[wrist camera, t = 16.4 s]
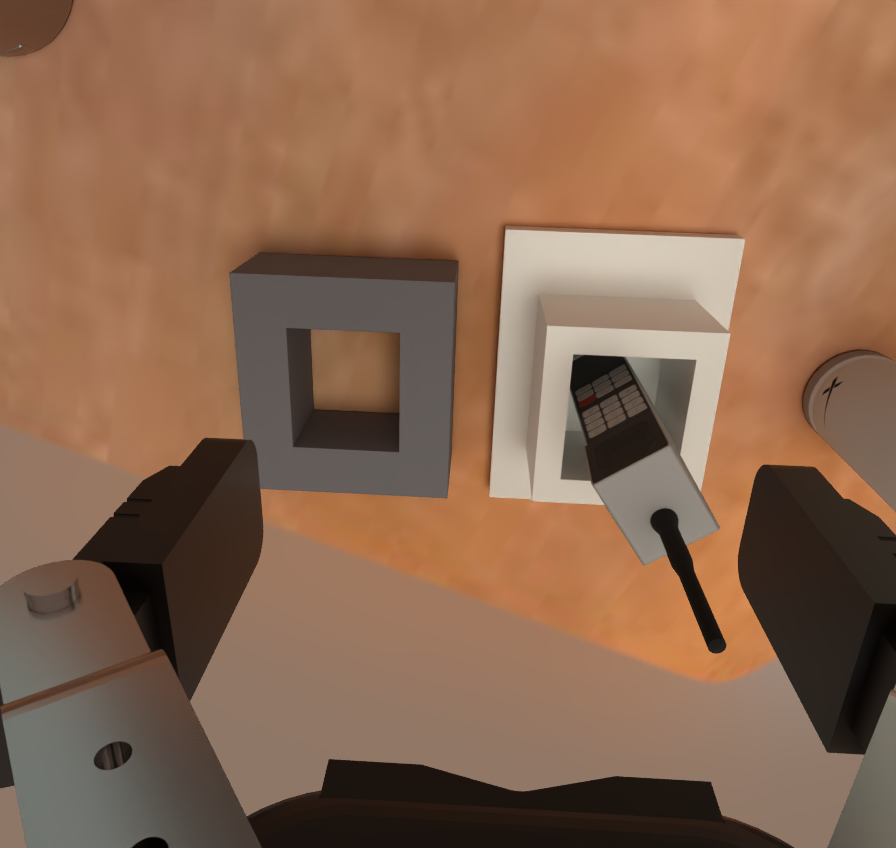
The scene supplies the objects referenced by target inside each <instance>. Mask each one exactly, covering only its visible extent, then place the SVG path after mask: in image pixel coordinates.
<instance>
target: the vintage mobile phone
mask: <svg viewBox="0 0 896 848" xmlns="http://www.w3.org/2000/svg"><path fill="white" fill-rule="evenodd" d="M570 391H571V395H572V398H573V402H574V405H575V409H576V412H577V415H578V419H579V422H580V426H581V429H582V433H583V436H584V440H585V443H586V445H585V446H584V451H585V456H586V461H587V465H588V470H589V475H590V480H591V484H592V486H593V488H594V489H595V491H596V492H597V494H598V495H599V497H600V498H601V500H602V502H603V503H604V505H605V506H606V508H607V509H608V511H609V512H610V514H611V516H612V517H613V519H614V520H615V522H616V523H617V525H618V526H619V528H620V530H621V531H622V533H623V534H624V536H625V537H626V539H627V541H628V542H629V544H630V545H631V547H632V548H633V550H634V551H635V553H636V555H637V556H638V558H639V559H640V561H641V562H642V564H643V565H647V564H649V563H651V562H653V561H655V560H657V559H659V558H661V557H664V556H666V555H667V556H668V558H669V561H670V563H671V566H672V568H673V569H674V570H675V572H676V573H677V574H678V576H679V577H680V580H681V582H682V585H683V587H684V590H685V592H686V595H687V597H688V600H689V602H690V605H691V607H692V610H693V612H694V615H695V617H696V620H697V622H698V625H699V627H700V630H701V632H702V635H703V637H704V640H705V642H706V644H707V647H708V649H709V651H710V652H712V653H721V652H723V651H724V650H725V648H726V643H725V640H724V638H723V636H722V633H721V631H720V629H719V627H718V624H717V622H716V620H715V618H714V615H713V613H712V611H711V608H710V606H709V604H708V602H707V599H706V597H705V595H704V593H703V590H702V588H701V586H700V583H699V581H698V579H697V577H696V574H695V572H694V567H693V561H692V558H691V555H690V553H689V551H688V549H687V546H686V545H689V544H691V543H693V542H695V541H697V540H699V539H701V538H703V537H705V536H707V535H709V534H711V533H714V532H716V531H718V530H719V529H720V527H719V525H718V523H717V521H716V519H715V517H714V516H713V514H712V512H711V510H710V508H709V506H708V505H707V503H706V501H705V499H704V497H703V495H702V494H701V492H700V490H699V488H698V486H697V484H696V482H695V481H694V479H693V477H692V475H691V473H690V471H689V470H688V468H687V466H686V464H685V462H684V460H683V459H682V457H681V455H680V453H679V451H678V449H677V448H676V446H675V444H674V442H673V440H672V438H671V437H670V435H669V433H668V431H667V429H666V427H665V426H664V424H663V422H662V420H661V418H660V416H659V415H658V413H657V411H656V409H655V407H654V405H653V403H652V402H651V400H650V398H649V396H648V394H647V393H646V391H645V389H644V388H643V386H642V384H641V382H640V381H639V379H638V377H637V375H636V374H635V372H634V370H633V369H632V367H631V365H630V363H629V362H628V360H627V358H626V357H623V356H601V355H578V354H573V361H572V371H571V381H570Z"/></svg>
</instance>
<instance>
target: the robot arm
mask: <svg viewBox="0 0 896 848" xmlns="http://www.w3.org/2000/svg"><path fill="white" fill-rule="evenodd" d="M71 5H72V0H0V56H19V55H26V54H28V53H31V52H34V51H37V50H39V49H41V48H42V47H44V46H45V45H46V44H48V43H49V42H51V41H52V40H53V39H54V37H55V36H56V35H57V34H58V33H59V31H60V30H61V29H62V28H63V26H64V23H65V21H66V19H67V17H68V15H69V13H70V9H71ZM262 541H263V517H262V505H261V493H260V481H259V469H258V457H257V450H256V446H255V444H254V442H253V441H252V440H243V439H222V438H204V439H203V440H202V441H201V442H200V443H199V444H198V446H197V447H196V448H195V449H194V450H193V452H192V453H191V454H190V455H189V456H188V458H187V459H186V460H185V461H184V463H183V464H182V465H181V466H168V467H166V468H165V469H163V470H161V471H159V472H157V473H156V474H154V475H152V476H150V477H148V478H147V479H145V480H143V481H142V482H141V483H140V484H139V486H138V487H137V488H136V489H135V490H134V491H133V492H132V493H131V494H130V496H129V497H128V498H127V502H124V503H123V504H122V505H121V506H120V507H119V508H118V509H117V510H116V512H114V517H110V518H109V519H108V520H107V521H106V523H105V524H104V525H103V526H102V527H101V528H100V529H99V530H98V532H97V533H96V534H95V535H94V536H93V537H92V538H91V540H90V541H89V542H88V543H87V544H86V545H85V546H84V547H83V548H82V549H81V551H80V552H79V553H78V554H77V555H76V556H75V557H74V559H73V560H65V561H58V562H52V563H48V564H44V565H41V566H38V567H34V568H32V569H29V570H27V571H24V572H22V573H20V574H18V575H16V576H14V577H13V578H11V579H10V580H8V581H6V582H5V583H4V584H2V585H1V586H0V788H4V787H9V786H14V785H15V789H16V794H17V799H18V805H19V810H20V816H21V821H22V826H23V831H24V837H25V842H26V847H27V848H794V847H792V846H791V845H789V844H787V843H786V842H784V841H782V840H781V839H778V838H776V837H774V836H772V835H770V834H768V833H766V832H764V831H762V830H760V829H758V828H756V827H753V826H751V825H748V824H745V823H743V822H740V821H738V820H735V819H732V818H729V817H725V816H722V815H721V812H720V809H719V806H718V803H717V799H716V796H715V794H714V790H713V787H712V784H711V782H703V781H687V780H669V779H653V778H636V777H635V778H634V777H619V776H615V777H609V778H603V779H597V780H591V781H585V782H579V783H573V784H568V785H562V786H556V787H550V788H544V789H538V790H532V791H524V792H522V791H512V790H508V789H505V788H501V787H498V786H494V785H491V784H487V783H484V782H480V781H477V780H473V779H470V778H466V777H463V776H459V775H455V774H452V773H448V772H445V771H442V770H438V769H435V768H431V767H428V766H424V765H416V764H400V763H399V764H398V763H383V762H366V761H350V760H333V759H329V761H328V765H327V769H326V774H325V778H324V782H323V786H322V790H321V791H316V792H311V793H306V794H303V795H299V796H296V797H292V798H288V799H285V800H282V801H280V802H277V803H275V804H272V805H270V806H267V807H265V808H262V809H260V810H258V811H256V812H254V813H252V814H251V815H249V816H247V817H246V815H245V813H244V811H243V808H242V807H241V804H240V803H239V800H238V798H237V797H236V794H235V793H234V790H233V788H232V786H231V784H230V782H229V780H228V778H227V776H226V774H225V772H224V770H223V768H222V766H221V764H220V762H219V760H218V758H217V756H216V754H215V752H214V750H213V748H212V746H211V744H210V742H209V740H208V738H207V736H206V734H205V732H204V729H203V727H202V725H201V724H200V721H199V719H198V717H197V715H196V713H195V711H194V709H193V707H192V705H191V703H190V700H191V698H192V696H193V694H194V692H195V690H196V688H197V686H198V684H199V682H200V680H201V677H202V676H203V674H204V672H205V670H206V668H207V665H208V663H209V661H210V659H211V657H212V655H213V653H214V651H215V649H216V647H217V645H218V643H219V641H220V639H221V637H222V635H223V633H224V631H225V629H226V627H227V624H228V622H229V620H230V618H231V616H232V614H233V612H234V610H235V608H236V606H237V604H238V602H239V600H240V598H241V596H242V594H243V592H244V590H245V588H246V586H247V583H248V582H249V579H250V577H251V575H252V573H253V571H254V569H255V567H256V565H257V563H258V560H259V557H260V553H261V548H262ZM738 572H739V579H740V583H741V586H742V589H743V591H744V593H745V595H746V597H747V599H748V601H749V603H750V605H751V606H752V608H753V610H754V612H755V614H756V616H757V618H758V620H759V622H760V624H761V626H762V628H763V630H764V632H765V633H766V635H767V637H768V639H769V641H770V643H771V645H772V647H773V649H774V651H775V653H776V655H777V657H778V658H779V660H780V662H781V664H782V666H783V668H784V670H785V672H786V674H787V676H788V678H789V680H790V682H791V683H792V685H793V687H794V689H795V691H796V693H797V695H798V697H799V699H800V701H801V703H802V704H803V707H804V708H805V710H806V712H807V714H808V716H809V718H810V720H811V722H812V724H813V726H814V728H815V730H816V732H817V733H818V735H819V737H820V739H821V741H822V743H823V745H824V747H825V749H826V751H827V752H829V753H846V754H863V755H865V756H864V758H863V761H862V763H861V766H860V768H859V770H858V773H857V776H856V778H855V780H854V783H853V785H852V788H851V790H850V793H849V795H848V798H847V800H846V803H845V805H844V808H843V810H842V813H841V815H840V817H839V820H838V822H837V825H836V827H835V830H834V833H833V835H832V838H831V840H830V842H829V845H828V847H827V848H896V535H895V534H894V533H893V532H892V531H891V529H890V528H889V527H888V526H887V525H886V524H885V523H884V522H883V521H882V520H881V519H880V518H879V517H878V516H876V515H875V514H873V513H871V512H870V511H868V510H866V509H865V508H863V507H861V506H860V505H858V504H856V503H855V502H853V501H851V500H850V499H843V498H842V497H841V495H840V494H839V493H838V492H837V491H836V490H835V489H834V488H833V486H832V485H831V484H830V483H829V482H828V481H827V480H826V479H825V477H824V476H823V475H822V474H821V473H820V472H819V471H818V470H817V469H816V468H814V467H806V466H784V465H762V466H761V467H760V468H759V470H758V472H757V474H756V476H755V480H754V484H753V488H752V493H751V497H750V502H749V506H748V511H747V516H746V520H745V525H744V529H743V534H742V538H741V543H740V547H739V554H738Z"/></svg>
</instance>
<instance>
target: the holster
mask: <svg viewBox="0 0 896 848" xmlns="http://www.w3.org/2000/svg"><path fill="white" fill-rule="evenodd" d="M458 265H459V261H450V260H425V259H401V258H377V257H352V256H328V255H304V254H279V253H258V254H257V255H255V256H254V257H252V258H251V259H249V260H248V261H246V262H245V263H244V264H242V265H241V266H239V267H238V268H236V269H235V270H233V271H232V272H230V273H229V275H230V287H231V298H232V310H233V322H234V333H235V345H236V356H237V368H238V380H239V391H240V403H241V415H242V426H243V438H244V440H252V441H253V442H254V444H255V446H256V450H257V457H258V469H259V481H260V489H275V490H295V491H315V492H334V493H354V494H373V495H393V496H413V497H432V498H447V495H448V485H449V475H450V465H451V454H452V427H453V400H454V373H455V346H456V319H457V292H458ZM310 329H323V330H345V331H368V332H391V333H400V414H396V413H375V412H354V411H333V410H314V402H313V379H312V356H311V333H310Z"/></svg>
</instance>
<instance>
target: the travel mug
mask: <svg viewBox="0 0 896 848" xmlns="http://www.w3.org/2000/svg"><path fill="white" fill-rule="evenodd" d="M803 410H804V415H805V417H806V419H807V422H808V423H809V424H810V426H811V427H812V428H813V429H814V430H815V431H816V432H817V433H818V434H819V435H820V436H821V437H822V438H823V439H824V440H825V441H826V442H827V443H828V444H829V445H830V446H831V447H832V448H833V449H834V450H835V451H836V453H837V454H838V455H839V456H840V457H841V458H842V459H843V460H844V461H845V462H846V463H847V464H848V465H849V466H850V467H851V468H852V469H853V470H854V471H855V472H856V473H857V474H858V475H859V476H860V477H861V478H862V479H863V480H864V481H865V482H866V483H867V484H868V485H869V486H870V487H871V488H872V489H873V490H874V491H875V492H876V493H877V494H878V495H879V496H880V497H881V498H882V499H883V500H884V501H885V502H886V503H887V504H888V505H889V506H890V507H891V508H892V509H893V510H894V511H895V512H896V362H894V361H892V360H891V359H889V358H888V357H886V356H884V355H882V354H880V353H876V352H872V351H861V350H860V351H852V352H848V353H845V354H841V355H839V356H837V357H835V358H833V359H831V360H829V361H828V362H827V363H825V364H824V365H822V366H821V367H820V368H819V369H818V370H817V371H816V372H815V373H814V375H813V376H812V378H811V379H810V381H809V382H808V385H807V387H806V389H805V393H804V397H803Z"/></svg>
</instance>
